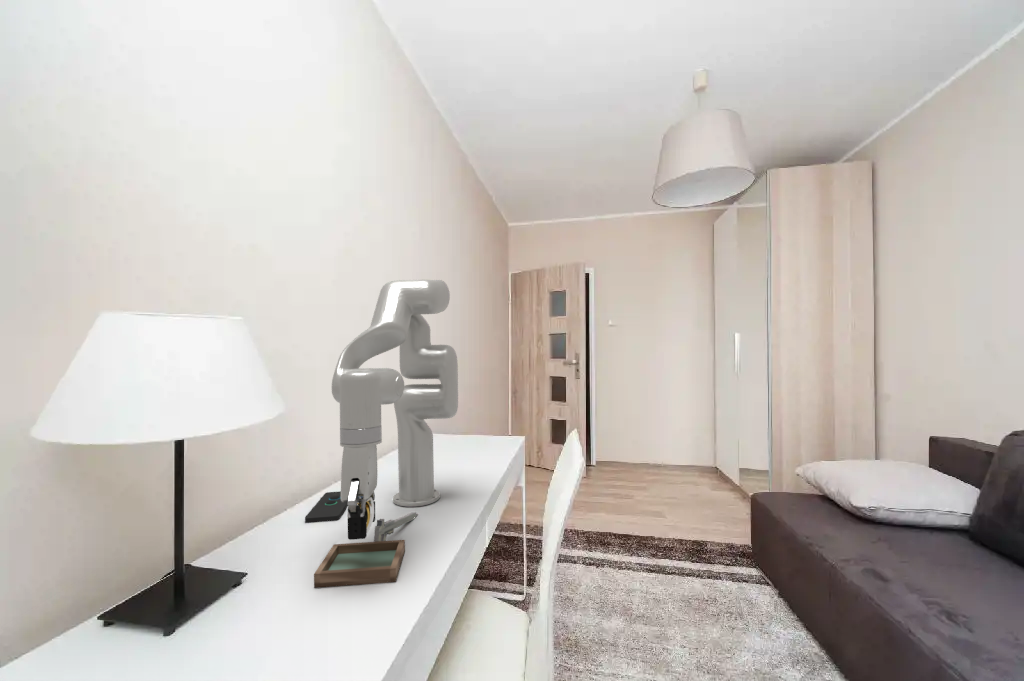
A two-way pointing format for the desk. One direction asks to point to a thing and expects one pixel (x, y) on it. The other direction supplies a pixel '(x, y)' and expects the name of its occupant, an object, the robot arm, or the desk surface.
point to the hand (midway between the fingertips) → (362, 529)
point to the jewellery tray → (360, 564)
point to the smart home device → (327, 508)
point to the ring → (370, 511)
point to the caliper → (390, 526)
